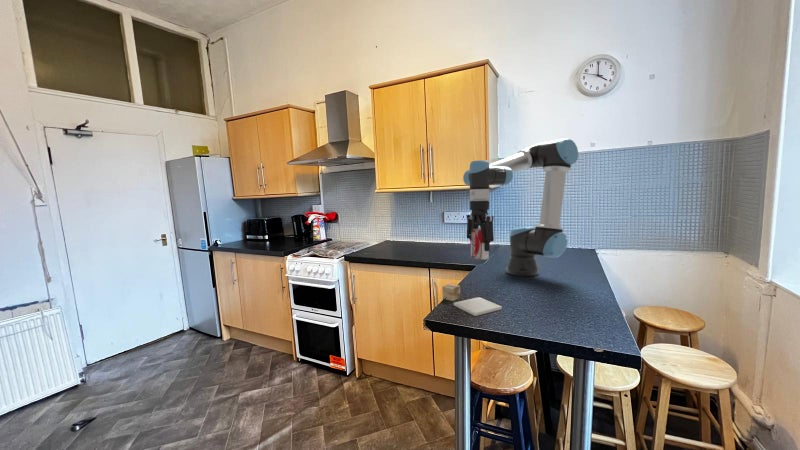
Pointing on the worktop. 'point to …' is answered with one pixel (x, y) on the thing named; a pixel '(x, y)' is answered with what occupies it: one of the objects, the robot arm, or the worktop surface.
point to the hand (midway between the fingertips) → (479, 257)
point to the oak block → (451, 292)
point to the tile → (477, 306)
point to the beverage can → (477, 243)
